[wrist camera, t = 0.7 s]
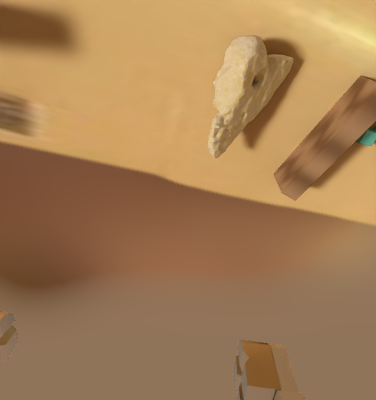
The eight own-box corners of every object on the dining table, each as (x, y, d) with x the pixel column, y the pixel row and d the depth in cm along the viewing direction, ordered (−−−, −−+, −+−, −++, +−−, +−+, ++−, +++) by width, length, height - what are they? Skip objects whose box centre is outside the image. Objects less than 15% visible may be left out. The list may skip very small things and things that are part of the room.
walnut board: (360, 75, 41) (384, 85, 36) (374, 86, 42) (399, 97, 37) (273, 174, 51) (281, 193, 46) (285, 181, 52) (295, 200, 47)
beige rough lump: (262, 9, 39) (180, 43, 33) (306, 24, 35) (222, 64, 30) (247, 104, 51) (185, 140, 45) (278, 122, 47) (215, 164, 42)
